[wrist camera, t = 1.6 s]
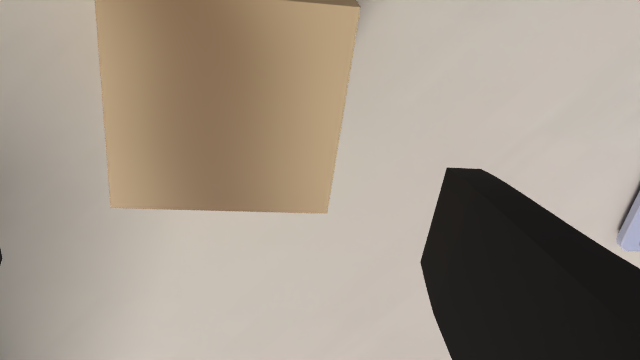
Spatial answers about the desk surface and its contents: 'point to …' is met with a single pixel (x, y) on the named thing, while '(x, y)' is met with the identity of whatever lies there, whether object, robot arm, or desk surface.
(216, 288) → the desk surface
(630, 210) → the robot arm
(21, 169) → the desk surface
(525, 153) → the desk surface
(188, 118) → the oak cube
